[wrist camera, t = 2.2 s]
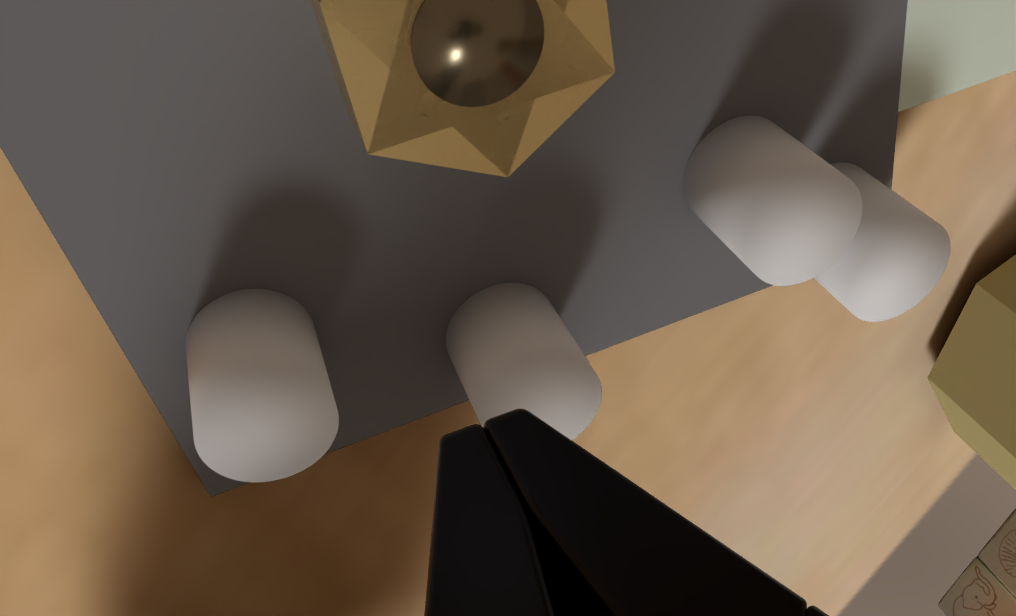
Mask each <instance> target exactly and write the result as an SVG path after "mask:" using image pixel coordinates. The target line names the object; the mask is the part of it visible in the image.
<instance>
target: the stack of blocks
mask: <svg viewBox="0 0 1016 616" xmlns="http://www.w3.org/2000/svg"><path fill="white" fill-rule="evenodd" d="M938 606H939V607H940V609H941V610H942V611H943V612H944V613H945V615H946V616H1016V509H1015V510H1014V511H1013V512H1012V513H1011V515H1010V516H1009V517H1008V519H1007V520H1006V521H1005V522H1004V523H1003V525H1002V526H1001V527H1000V528H999V529H998V530H997V532H996V533H995V534H994V535H993V537H992V538H991V539H990V540H989V541H988V543H987V544H986V545H985V546H984V548H983V549H982V550H981V551H980V553H979V555H978V556H977V557H976V558H975V559H973V561H972V562H971V563H970V564H969V566H968V567H967V568H966V569H965V570H964V571H963V573H962V574H961V575H960V577H959V578H958V579H957V580H956V582H955V583H954V584H953V585H952V587H951V588H950V589H949V590H948V591H947V593H946V594H945V595H944V596H943V598H942V599H941V600H940V602H939V603H938Z"/></svg>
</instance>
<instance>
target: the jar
mask: <svg viewBox="0 0 1016 616" xmlns="http://www.w3.org/2000/svg"><path fill="white" fill-rule="evenodd" d="M928 380H929V382H930V384H931V386H932V388H933V390H934V392H935V394H936V396H937V398H938V400H939V402H940V404H941V406H942V408H943V410H944V412H945V414H946V416H947V419H948V421H949V423H950V425H951V427H952V429H953V431H954V432H955V433H956V434H957V435H958V436H959V437H960V438H961V439H962V440H963V441H965V442H966V443H967V444H968V445H969V446H970V447H971V448H972V449H973V450H974V451H975V452H976V453H977V454H978V455H979V456H980V457H981V458H983V459H984V460H985V461H986V462H987V463H988V464H989V465H990V466H991V467H992V468H993V469H994V470H995V471H996V472H997V473H998V474H999V475H1000V476H1001V477H1002V478H1003V479H1004V480H1005V481H1007V482H1008V483H1009V484H1010V485H1011V486H1012V487H1013V488H1014V489H1015V490H1016V254H1015V255H1014V256H1013V257H1011V258H1010V259H1009V260H1007V261H1006V262H1005V263H1003V264H1002V265H1000V266H999V267H998V268H996V269H995V270H994V271H992V272H991V273H990V274H988V275H987V276H985V277H984V278H983V279H981V280H980V281H979V282H977V283H976V285H975V287H974V289H973V291H972V293H971V295H970V297H969V299H968V300H967V302H966V304H965V306H964V308H963V310H962V312H961V314H960V316H959V318H958V320H957V322H956V324H955V326H954V328H953V329H952V331H951V333H950V335H949V337H948V339H947V341H946V343H945V345H944V347H943V349H942V351H941V353H940V355H939V356H938V358H937V360H936V362H935V364H934V366H933V368H932V370H931V372H930V374H929V376H928Z"/></svg>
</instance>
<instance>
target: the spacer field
mask: <svg viewBox="0 0 1016 616" xmlns="http://www.w3.org/2000/svg"><path fill="white" fill-rule="evenodd" d="M606 1H607V9H608V18H609V26H610V34H611V42H612V51H613V59H614V67H615V73H614V74H613V75H612V76H611V77H610V78H609V79H608V80H607V81H606V82H605V83H604V84H603V85H602V86H601V87H599V88H598V89H597V90H596V91H595V92H594V93H593V94H592V95H591V96H590V97H589V98H588V99H587V100H586V101H585V102H584V103H583V104H582V105H581V106H580V107H579V108H578V109H577V110H576V111H575V112H574V113H573V114H572V115H571V116H570V117H569V118H568V119H567V120H566V121H565V122H564V123H563V124H562V125H561V126H560V127H559V128H558V129H557V130H556V131H555V132H554V133H553V134H552V135H551V136H550V137H549V138H548V139H547V140H545V141H544V142H543V143H542V144H541V145H540V146H539V147H538V148H537V149H536V150H535V151H534V152H533V153H532V154H531V155H530V156H529V157H528V158H527V159H526V160H525V161H524V162H523V163H522V164H521V165H520V166H519V167H518V168H517V169H516V170H515V171H514V172H513V173H512V174H511V175H510V176H509V177H503V176H497V175H491V174H485V173H479V172H473V171H467V170H460V169H454V168H448V167H442V166H436V165H430V164H424V163H418V162H412V161H406V160H400V159H394V158H388V157H382V156H375V155H369V154H367V152H366V150H365V148H364V145H363V143H362V141H361V139H360V137H359V135H358V133H357V131H356V129H355V127H354V124H353V122H352V120H351V118H350V116H349V114H348V112H347V110H346V108H345V105H344V101H343V98H342V95H341V92H340V89H339V86H338V83H337V80H336V77H335V74H334V71H333V68H332V65H331V62H330V59H329V55H328V52H327V49H326V46H325V43H324V40H323V37H322V34H321V31H320V28H319V25H318V22H317V19H316V16H315V12H314V9H313V6H312V3H311V0H0V147H1V149H2V151H3V152H4V154H5V156H6V157H7V159H8V161H9V162H10V164H11V166H12V167H13V169H14V171H15V172H16V174H17V176H18V177H19V179H20V181H21V182H22V184H23V186H24V187H25V189H26V191H27V192H28V194H29V196H30V197H31V199H32V201H33V202H34V204H35V206H36V207H37V209H38V211H39V212H40V214H41V216H42V217H43V219H44V221H45V222H46V224H47V225H48V227H49V229H50V230H51V232H52V234H53V235H54V237H55V239H56V240H57V242H58V244H59V245H60V247H61V249H62V250H63V252H64V254H65V255H66V257H67V259H68V260H69V262H70V264H71V265H72V267H73V269H74V270H75V272H76V274H77V275H78V277H79V279H80V280H81V282H82V284H83V285H84V287H85V289H86V290H87V292H88V294H89V295H90V297H91V299H92V300H93V302H94V304H95V305H96V307H97V309H98V310H99V312H100V314H101V315H102V317H103V319H104V320H105V322H106V324H107V325H108V327H109V329H110V330H111V332H112V334H113V335H114V337H115V339H116V340H117V342H118V344H119V345H120V347H121V349H122V350H123V352H124V354H125V355H126V357H127V359H128V360H129V362H130V364H131V365H132V367H133V369H134V370H135V372H136V374H137V375H138V377H139V379H140V380H141V382H142V383H143V385H144V387H145V388H146V390H147V392H148V393H149V395H150V397H151V398H152V400H153V402H154V403H155V405H156V407H157V408H158V410H159V412H160V413H161V415H162V417H163V418H164V420H165V422H166V423H167V425H168V427H169V428H170V430H171V432H172V433H173V435H174V437H175V438H176V440H177V442H178V443H179V445H180V447H181V448H182V450H183V452H184V453H185V455H186V457H187V458H188V460H189V462H190V463H191V465H192V467H193V468H194V470H195V472H196V473H197V475H198V477H199V478H200V480H201V482H202V483H203V485H204V487H205V488H206V490H207V492H208V493H209V495H210V497H213V496H215V495H218V494H221V493H223V492H226V491H229V490H231V489H234V488H237V487H239V486H242V485H245V484H247V483H250V482H269V481H275V480H279V479H283V478H286V477H289V476H292V475H295V474H297V473H299V472H301V471H303V470H305V469H307V468H308V467H310V466H311V465H313V464H314V463H315V462H316V461H318V460H319V459H320V458H321V457H322V456H323V455H324V454H327V453H329V452H332V451H335V450H337V449H340V448H343V447H345V446H348V445H351V444H353V443H356V442H359V441H361V440H364V439H367V438H369V437H372V436H374V435H377V434H380V433H382V432H385V431H388V430H390V429H393V428H396V427H398V426H401V425H404V424H406V423H409V422H412V421H414V420H417V419H420V418H422V417H425V416H428V415H430V414H433V413H435V412H438V411H441V410H443V409H446V408H449V407H451V406H454V405H457V404H459V403H462V402H465V401H467V400H470V402H471V405H472V407H473V409H474V411H475V413H476V416H477V418H478V420H479V422H480V424H481V426H482V427H483V428H484V424H485V422H486V421H487V420H488V419H490V418H493V417H496V416H499V415H501V414H504V413H507V412H510V411H512V410H515V409H519V408H521V409H525V410H527V411H529V412H531V413H532V414H534V415H535V416H536V417H538V418H539V419H541V420H542V421H544V422H545V423H547V424H548V425H550V426H551V427H553V428H554V429H556V430H557V431H558V432H560V433H561V434H563V435H564V436H566V437H567V438H569V439H570V440H573V439H575V438H576V437H577V436H578V435H580V434H581V433H582V432H583V431H584V430H585V429H586V428H587V426H588V425H589V424H590V423H591V421H592V420H593V418H594V417H595V415H596V413H597V411H598V408H599V406H600V402H601V397H602V388H601V383H600V380H599V378H598V376H597V374H596V372H595V371H594V369H593V368H592V366H591V365H590V363H589V362H588V360H587V359H586V357H585V356H587V355H589V354H592V353H595V352H597V351H600V350H603V349H605V348H608V347H610V346H613V345H616V344H618V343H621V342H624V341H626V340H629V339H632V338H634V337H637V336H640V335H642V334H645V333H648V332H650V331H653V330H656V329H658V328H661V327H664V326H666V325H669V324H671V323H674V322H677V321H679V320H682V319H685V318H687V317H690V316H693V315H695V314H698V313H701V312H703V311H706V310H709V309H711V308H714V307H717V306H719V305H722V304H725V303H727V302H730V301H732V300H735V299H738V298H740V297H743V296H746V295H748V294H751V293H754V292H756V291H759V290H762V289H764V288H767V287H770V286H772V285H776V286H789V285H795V284H799V283H802V282H805V281H807V280H809V279H812V278H814V279H815V280H817V281H818V282H819V283H820V284H821V285H822V286H823V287H824V288H825V289H826V290H827V291H828V292H830V293H831V294H832V295H833V296H834V297H835V298H836V299H837V300H838V301H839V302H840V303H841V304H843V305H844V306H845V307H846V308H847V309H848V310H849V311H850V312H851V313H852V314H853V315H854V316H856V317H857V318H859V319H861V320H864V321H869V322H878V321H884V320H888V319H891V318H894V317H896V316H899V315H901V314H903V313H904V312H906V311H908V310H909V309H911V308H912V307H914V306H915V305H916V304H918V303H919V302H920V301H921V300H922V299H923V298H924V297H926V295H927V294H928V293H929V292H930V291H931V290H932V289H933V288H934V286H935V285H936V284H937V282H938V281H939V279H940V278H941V276H942V274H943V272H944V270H945V268H946V266H947V263H948V260H949V255H950V239H949V236H948V233H947V231H946V230H945V229H944V228H943V227H942V226H941V225H940V224H939V223H937V222H936V221H934V220H933V219H932V218H930V217H929V216H927V215H926V214H925V213H923V212H922V211H920V210H919V209H918V208H916V207H915V206H913V205H912V204H911V203H909V202H908V201H906V200H905V199H904V198H902V197H901V196H899V195H898V194H897V193H895V192H894V191H892V190H891V187H892V175H893V164H894V152H895V141H896V129H897V118H898V106H899V95H900V84H901V72H902V61H903V49H904V38H905V26H906V15H907V3H908V0H606Z"/></svg>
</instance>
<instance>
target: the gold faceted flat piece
mask: <svg viewBox="0 0 1016 616" xmlns="http://www.w3.org/2000/svg"><path fill="white" fill-rule="evenodd" d="M311 3H312V6H313V9H314V12H315V16H316V19H317V22H318V25H319V28H320V31H321V34H322V37H323V40H324V43H325V46H326V49H327V52H328V55H329V59H330V62H331V65H332V68H333V71H334V74H335V77H336V80H337V83H338V86H339V89H340V92H341V95H342V98H343V101H344V105H345V108H346V110H347V112H348V114H349V116H350V118H351V120H352V122H353V124H354V127H355V129H356V131H357V133H358V135H359V137H360V139H361V141H362V143H363V145H364V148H365V150H366V152H367V154H369V155H375V156H382V157H388V158H394V159H400V160H406V161H412V162H418V163H424V164H430V165H436V166H442V167H448V168H454V169H460V170H467V171H473V172H479V173H485V174H491V175H497V176H503V177H509V176H510V175H511V174H512V173H513V172H514V171H515V170H516V169H517V168H518V167H519V166H520V165H521V164H522V163H523V162H524V161H525V160H526V159H527V158H528V157H529V156H530V155H531V154H532V153H533V152H534V151H535V150H536V149H537V148H538V147H539V146H540V145H541V144H542V143H543V142H544V141H545V140H547V139H548V138H549V137H550V136H551V135H552V134H553V133H554V132H555V131H556V130H557V129H558V128H559V127H560V126H561V125H562V124H563V123H564V122H565V121H566V120H567V119H568V118H569V117H570V116H571V115H572V114H573V113H574V112H575V111H576V110H577V109H578V108H579V107H580V106H581V105H582V104H583V103H584V102H585V101H586V100H587V99H588V98H589V97H590V96H591V95H592V94H593V93H594V92H595V91H596V90H597V89H598V88H599V87H601V86H602V85H603V84H604V83H605V82H606V81H607V80H608V79H609V78H610V77H611V76H612V75H613V74H614V73H615V67H614V59H613V51H612V42H611V34H610V26H609V18H608V9H607V1H606V0H311Z"/></svg>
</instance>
